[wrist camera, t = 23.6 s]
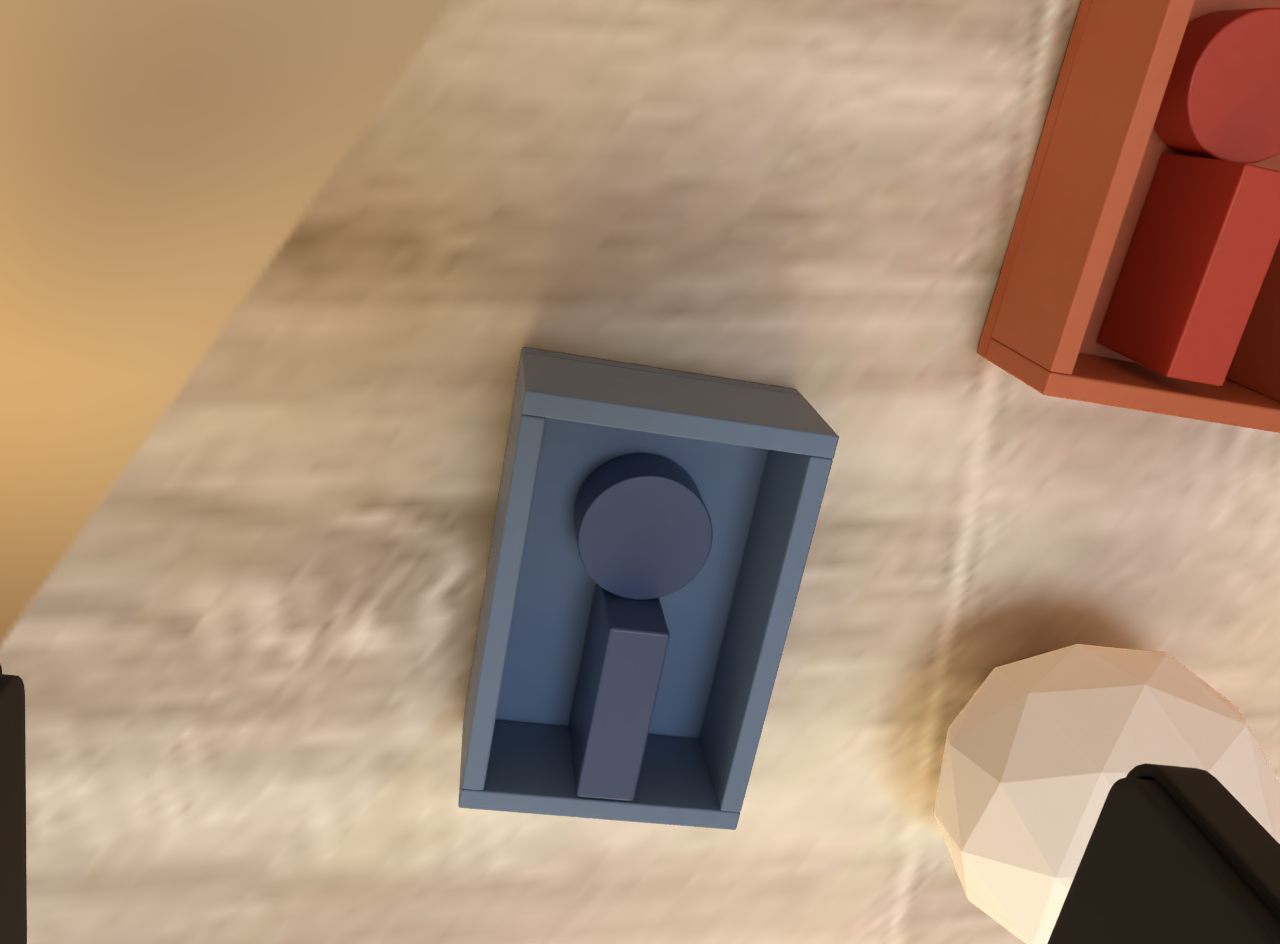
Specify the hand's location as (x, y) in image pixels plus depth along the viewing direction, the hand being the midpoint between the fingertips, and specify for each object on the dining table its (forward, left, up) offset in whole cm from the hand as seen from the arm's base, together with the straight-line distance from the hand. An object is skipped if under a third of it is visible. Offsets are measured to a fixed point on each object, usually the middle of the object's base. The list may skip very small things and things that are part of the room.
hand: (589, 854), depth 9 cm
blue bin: (+7, +4, -21) cm, 22 cm away
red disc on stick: (-7, +16, -20) cm, 27 cm away
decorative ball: (+10, +19, -21) cm, 30 cm away
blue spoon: (+7, +4, -20) cm, 22 cm away
